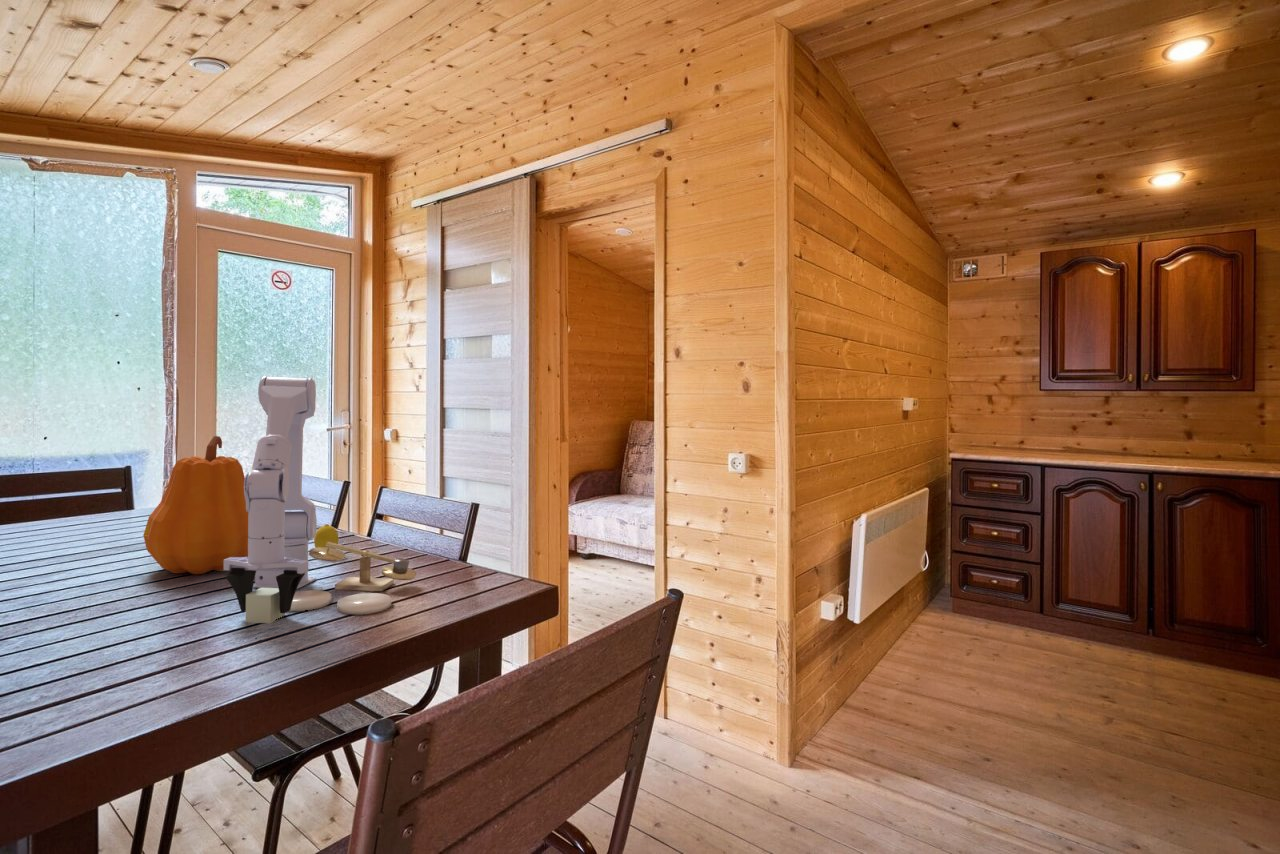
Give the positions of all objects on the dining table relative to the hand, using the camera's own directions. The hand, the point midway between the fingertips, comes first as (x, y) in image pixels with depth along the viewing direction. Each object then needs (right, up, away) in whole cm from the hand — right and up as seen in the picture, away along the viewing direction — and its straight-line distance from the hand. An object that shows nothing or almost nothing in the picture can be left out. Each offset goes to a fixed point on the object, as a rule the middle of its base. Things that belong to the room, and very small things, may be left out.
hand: (265, 610), depth 120 cm
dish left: (+2, -1, +9) cm, 9 cm away
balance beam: (+9, +4, +22) cm, 23 cm away
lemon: (-11, +1, +47) cm, 48 cm away
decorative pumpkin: (-32, +1, +32) cm, 45 cm away
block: (0, -2, 0) cm, 2 cm away
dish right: (+14, -2, +8) cm, 17 cm away
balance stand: (+9, -1, +22) cm, 23 cm away
